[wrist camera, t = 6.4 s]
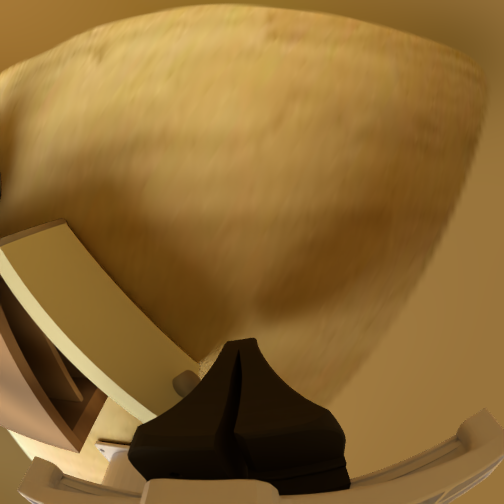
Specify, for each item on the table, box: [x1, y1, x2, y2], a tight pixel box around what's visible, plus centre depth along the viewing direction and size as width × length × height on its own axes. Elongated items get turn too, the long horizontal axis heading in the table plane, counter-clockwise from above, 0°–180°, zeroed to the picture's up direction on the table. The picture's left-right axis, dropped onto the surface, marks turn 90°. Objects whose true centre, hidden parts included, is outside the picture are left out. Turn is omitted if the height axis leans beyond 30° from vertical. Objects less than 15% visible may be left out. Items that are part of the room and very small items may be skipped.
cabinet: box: [0, 274, 108, 453], centre depth 11 cm, size 11×11×6 cm
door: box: [0, 218, 201, 423], centre depth 11 cm, size 11×2×6 cm, turn 40°
